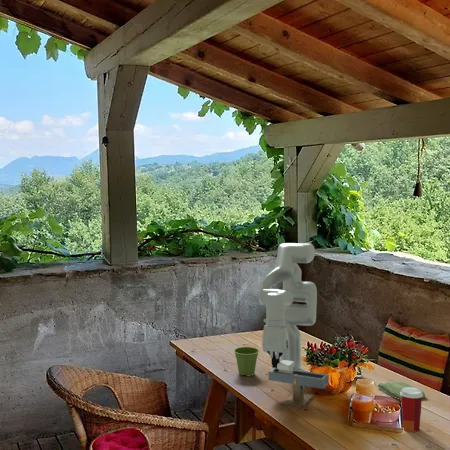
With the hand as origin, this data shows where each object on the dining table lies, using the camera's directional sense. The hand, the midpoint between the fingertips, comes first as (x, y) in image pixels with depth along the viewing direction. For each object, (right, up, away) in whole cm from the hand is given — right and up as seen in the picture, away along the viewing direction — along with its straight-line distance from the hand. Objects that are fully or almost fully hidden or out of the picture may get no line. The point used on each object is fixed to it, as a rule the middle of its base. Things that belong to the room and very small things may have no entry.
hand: (275, 366), depth 236 cm
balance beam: (+9, -13, -4) cm, 16 cm away
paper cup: (+45, -15, -31) cm, 57 cm away
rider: (+4, -2, -2) cm, 5 cm away
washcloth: (+53, -13, +4) cm, 54 cm away
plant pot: (-11, -11, +30) cm, 34 cm away
